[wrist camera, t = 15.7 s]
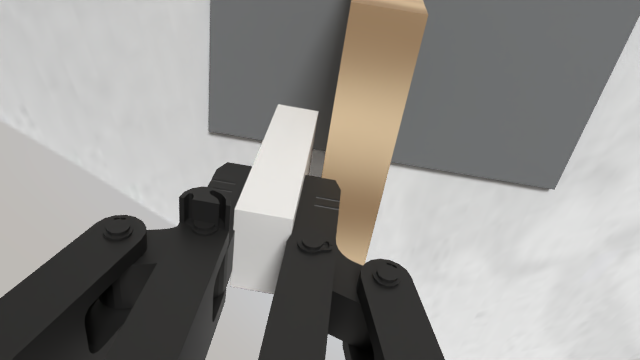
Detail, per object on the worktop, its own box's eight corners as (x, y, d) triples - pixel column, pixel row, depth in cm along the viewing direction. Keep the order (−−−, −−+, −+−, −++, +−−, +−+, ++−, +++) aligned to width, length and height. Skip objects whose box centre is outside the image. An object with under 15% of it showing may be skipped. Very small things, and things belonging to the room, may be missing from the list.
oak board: (359, -49, 22) (350, 1, 14) (410, -40, 22) (433, 15, 14) (324, 158, 28) (303, 281, 20) (364, 165, 28) (361, 291, 20)
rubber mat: (210, 128, 28) (208, 131, 28) (214, -112, 22) (212, -111, 21) (552, 185, 28) (554, 189, 28) (659, -38, 22) (664, -36, 21)
